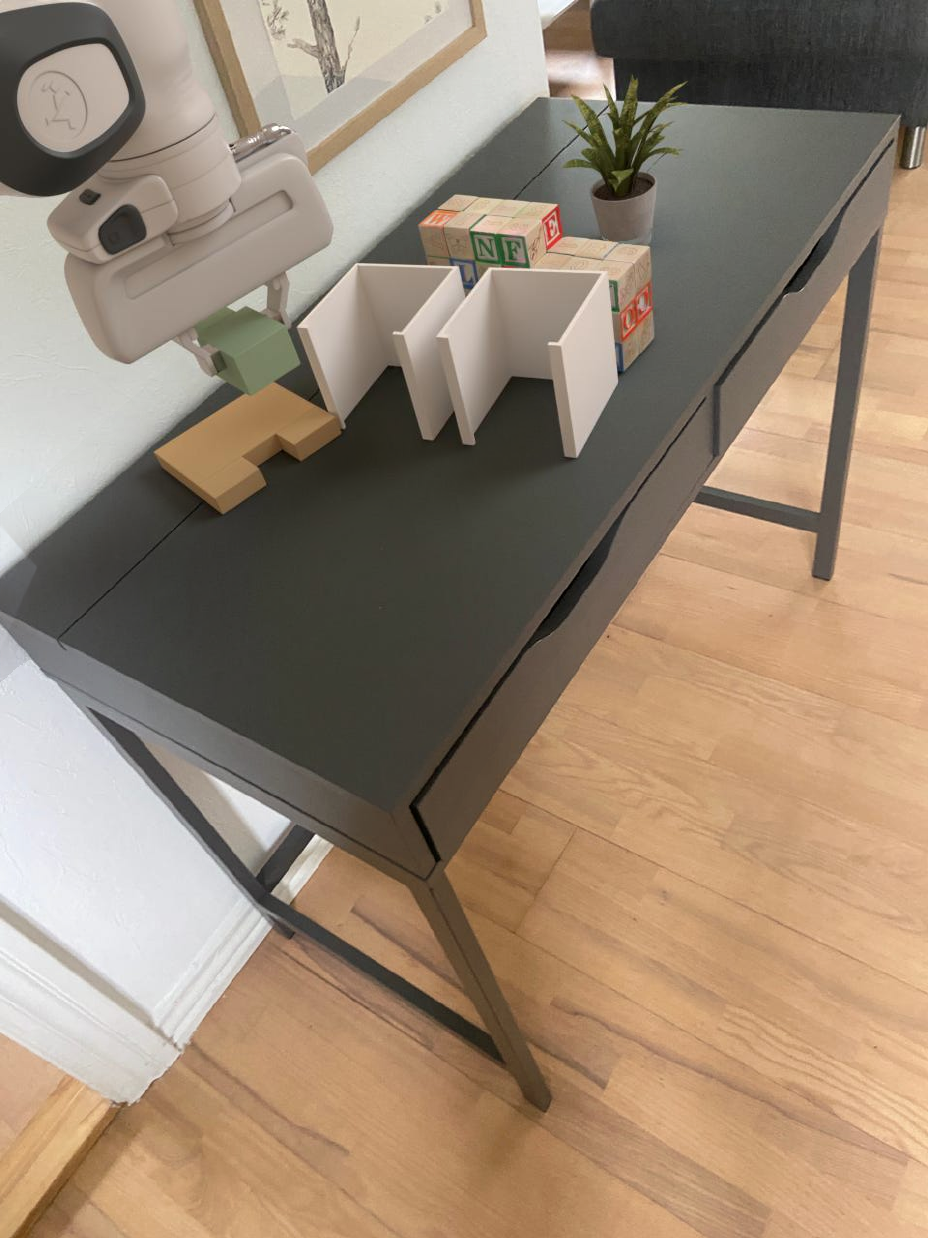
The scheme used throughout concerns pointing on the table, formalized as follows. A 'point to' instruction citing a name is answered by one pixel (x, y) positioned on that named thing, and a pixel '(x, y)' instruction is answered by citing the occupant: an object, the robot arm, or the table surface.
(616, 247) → the stack of blocks
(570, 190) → the table surface
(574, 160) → the house plant
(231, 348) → the sage block
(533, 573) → the table surface
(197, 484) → the sand pad
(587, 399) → the open dividers
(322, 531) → the table surface
